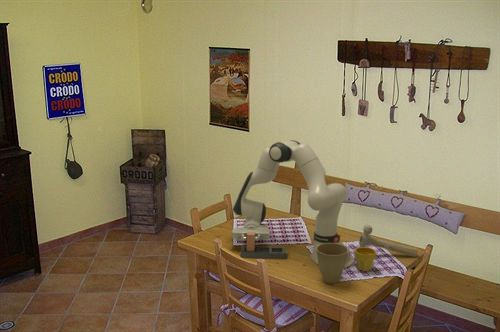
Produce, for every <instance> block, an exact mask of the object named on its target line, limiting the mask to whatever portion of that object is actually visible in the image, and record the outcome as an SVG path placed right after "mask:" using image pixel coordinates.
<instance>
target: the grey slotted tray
mask: <svg viewBox="0 0 500 332" xmlns="http://www.w3.org/2000/svg"><path fill="white" fill-rule="evenodd" d="M287 255H288V250H287V247H286V246H285V247H283V246H255V251H254V252H251V251H247V245H246V246H245V245H241V246H240V256H241V257H242V258H243V259H248V258H249V259H275V260H276V259H277V260H279V259H280V260H287V258H288V257H287Z"/></svg>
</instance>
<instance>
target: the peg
mask: <svg viewBox="0 0 500 332" xmlns="http://www.w3.org/2000/svg"><path fill="white" fill-rule="evenodd" d="M255 242H256V241H255V232H247V239H246V246H247V251H251V252H254V251H255V247H256V245H255V244H256V243H255Z"/></svg>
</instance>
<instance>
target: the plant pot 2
mask: <svg viewBox="0 0 500 332" xmlns="http://www.w3.org/2000/svg"><path fill="white" fill-rule="evenodd" d="M376 258H377V250H375V249H374V248H372V247H367V246H365V247H360V246H359V247H356V248H355V249H354V259H355V262H356V269H357V270H358V269H359V271H360V270H362V271H361V272H363V271H368V272H370V271H371V270H372V268H373V264H374V262H375V261H374V260H376ZM369 270H370V271H369Z"/></svg>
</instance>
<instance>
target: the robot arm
mask: <svg viewBox="0 0 500 332" xmlns="http://www.w3.org/2000/svg"><path fill="white" fill-rule="evenodd" d="M259 157H260V158H259V160H258V163H257V167H256V168H255V169H254V170H253V171H251V172H250V173H249V174H248V175H247V177H246V178H245V180H244V182H243V185H242V188H241V189H240V191H239V193H238V195H237V197H236V199H235V200H234V202H233V205H232V211H233V212H234V214H235V215H236V216H241V217H245V220H244V223H243V227H235V228H232V232H231V238H232V239H238V240H239V239H241V240H242V241H247V232H255V242H258V241H259V240H269V239H271V230H270V228H269V226H268V224H266V223H263V222H264V221H265V219H266V214H267V207H266V204H265V203H264V202H260V201H258V200H257V201H256V200H254V199H253V200H252V199H248V198H246V197H247V195H248V193H249V192H250V190H251V188H252V186H255V185H261V184H263V185H264V184H268V183H270V182H272V181H274V179H276V176H277V173H278V170H279V166H280V163H288V162H292V161H294V162H295V163H296V165H297V167H298V169H299V171H300V172H301V174H302V176H303V178H304V180H305V183H306V185H307V189H308V196H307V204H308V206H309V208H311V210H313V211H317V212H318V211H319V212H318V213H317V214H316V216H315V223H314V224H315V225H314V226H315V227H314V231H313V247H312V252H311V254H310V258H311V260H312V261H313V262H314V263H315V264H316V265H319V263H318V258H317V250H316V248H317V246H318V245H320V244H323V243H337V244H341V245H344V246H346V247H347V248H348V255H347V260H346V263H345V267H344V269H347V267H348V268H350V267H351V266H353V265H352V264H354V263H355V262H356V258H355V256H351V250H350V248H349V246H347V245H346V244H345V243H343V242H342V241H341V237H342V234H338V219H339V214H340V211H341V208H342V205H343V203H344V201H345V199H346V198H347V194H348V192H347V189H346V187H345V185H343V184H341V183H337V182H334V183H329V184H327V182H326V179H325V177H326V173H327V172H326V170H325V167H324V165H323V164H322V163H321V161H320V159H319V157H318V155H317V154H316V152H315V151H314V150H313V148H312V147H311V146H310V145H309V144H308V143H300V142H299V141H297V140H282V141H279V142H278V141H277V142H275V143H273V144H272V145H271V146H270V147H266V148H264V150H263V151H262V152H261V155H260V156H259ZM349 266H350V267H349Z"/></svg>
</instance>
